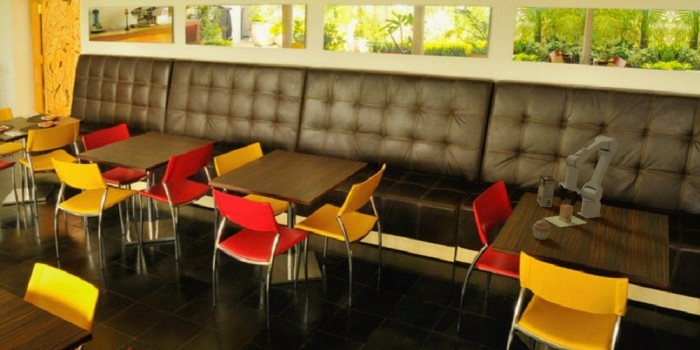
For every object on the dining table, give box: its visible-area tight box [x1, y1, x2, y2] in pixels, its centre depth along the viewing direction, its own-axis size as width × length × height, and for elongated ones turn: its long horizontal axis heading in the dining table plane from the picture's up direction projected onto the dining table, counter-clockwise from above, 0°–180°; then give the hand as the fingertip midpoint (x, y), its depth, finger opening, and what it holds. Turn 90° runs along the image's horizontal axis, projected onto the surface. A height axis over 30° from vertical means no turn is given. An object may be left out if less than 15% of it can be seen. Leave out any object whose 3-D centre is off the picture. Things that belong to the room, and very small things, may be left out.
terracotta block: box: [559, 204, 574, 215], centre depth 315 cm, size 4×4×4 cm
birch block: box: [558, 212, 573, 222], centre depth 316 cm, size 4×4×4 cm
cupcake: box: [531, 218, 552, 241], centre depth 293 cm, size 9×9×10 cm
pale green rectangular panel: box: [542, 215, 588, 228], centre depth 317 cm, size 18×13×1 cm
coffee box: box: [536, 175, 556, 208], centre depth 339 cm, size 9×6×16 cm
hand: (567, 202), depth 314 cm, fingers open, 7 cm apart
